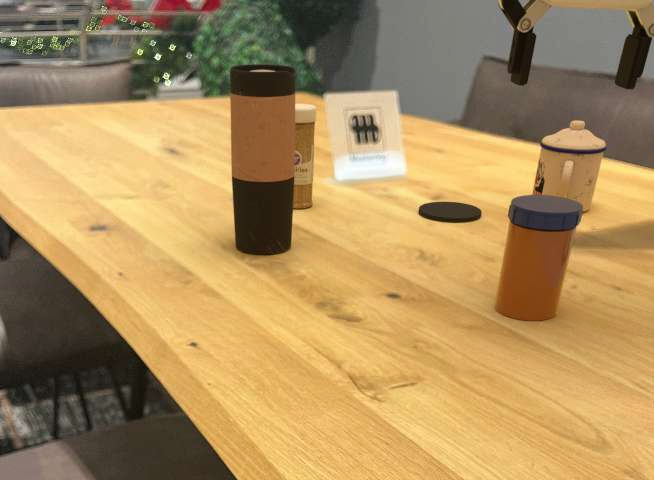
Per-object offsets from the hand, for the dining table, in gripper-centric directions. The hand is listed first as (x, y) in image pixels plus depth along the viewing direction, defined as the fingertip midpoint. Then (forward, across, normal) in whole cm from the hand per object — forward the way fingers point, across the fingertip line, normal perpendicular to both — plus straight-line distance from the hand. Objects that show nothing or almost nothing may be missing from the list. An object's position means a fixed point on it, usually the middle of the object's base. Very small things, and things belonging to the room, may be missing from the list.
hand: (571, 85), depth 69 cm
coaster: (+21, 0, -37) cm, 43 cm away
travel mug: (+22, +28, -21) cm, 41 cm away
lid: (+10, 0, 0) cm, 10 cm away
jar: (+21, 0, 0) cm, 21 cm away
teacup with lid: (+21, -16, -40) cm, 48 cm away
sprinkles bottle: (+22, +22, -41) cm, 52 cm away
